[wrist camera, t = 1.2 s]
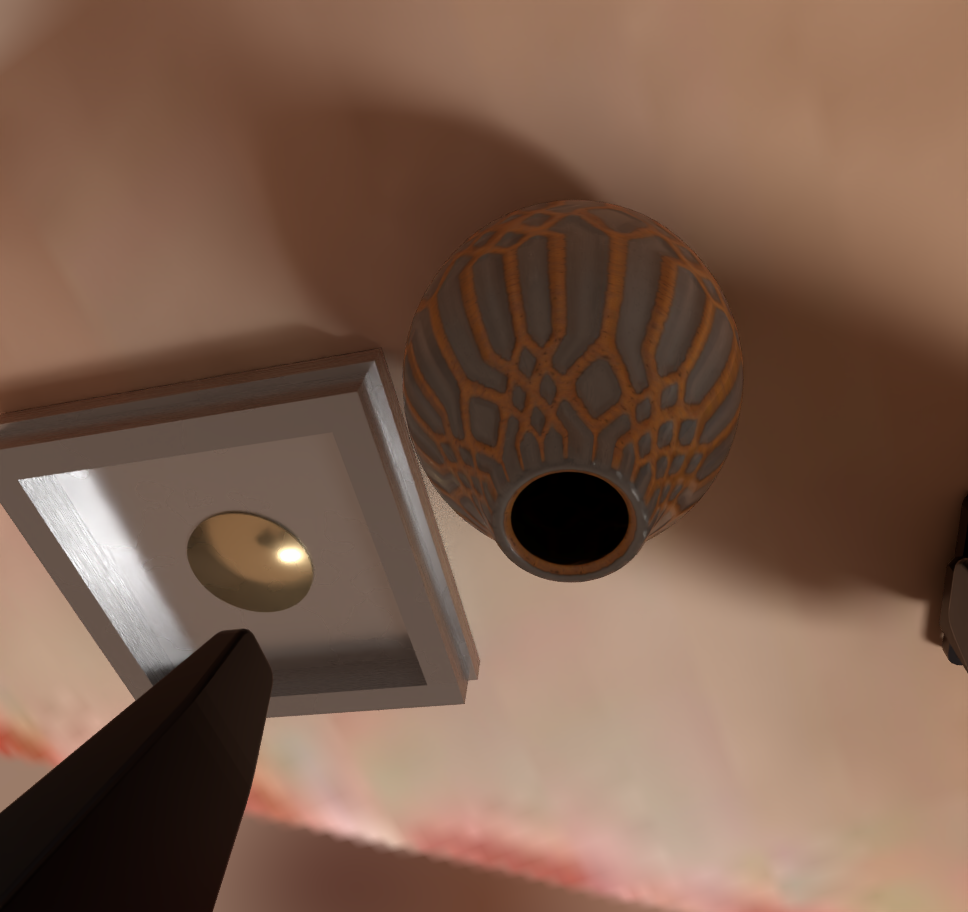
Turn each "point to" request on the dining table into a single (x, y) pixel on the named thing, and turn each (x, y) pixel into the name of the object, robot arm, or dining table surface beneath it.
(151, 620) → the grey square tray
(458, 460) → the vase
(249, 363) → the dining table surface
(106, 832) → the robot arm
